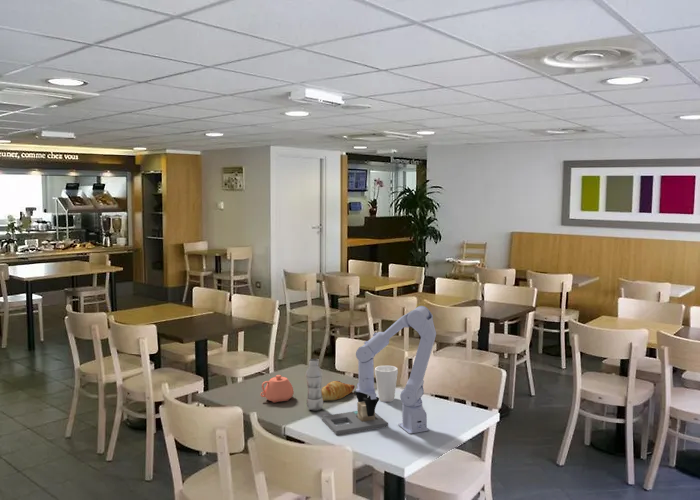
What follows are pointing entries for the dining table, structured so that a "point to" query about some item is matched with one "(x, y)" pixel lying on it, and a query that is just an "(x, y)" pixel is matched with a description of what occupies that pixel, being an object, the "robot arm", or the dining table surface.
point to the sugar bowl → (277, 389)
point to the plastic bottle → (314, 385)
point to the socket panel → (352, 423)
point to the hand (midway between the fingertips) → (366, 412)
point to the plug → (363, 412)
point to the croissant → (336, 390)
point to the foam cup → (386, 382)
